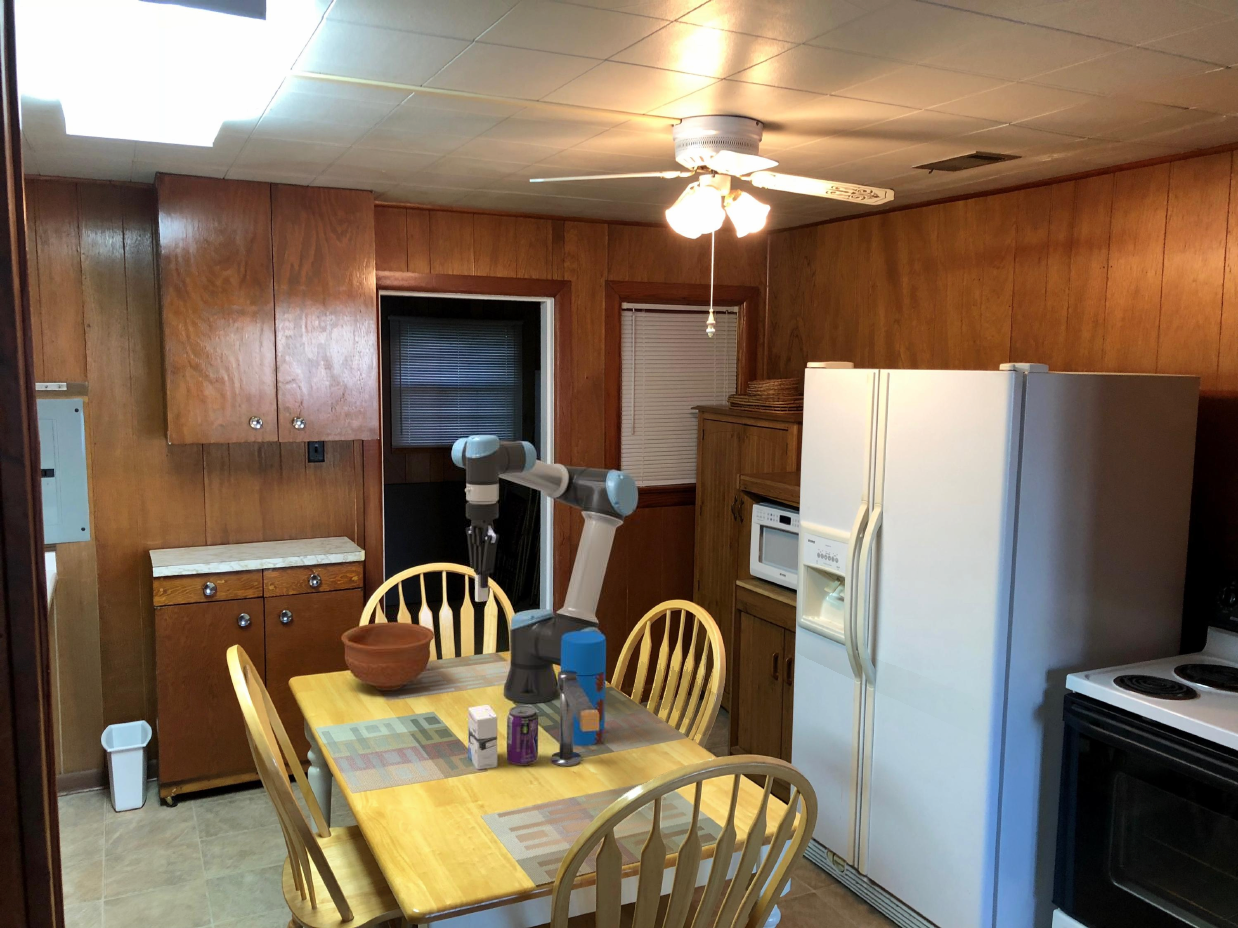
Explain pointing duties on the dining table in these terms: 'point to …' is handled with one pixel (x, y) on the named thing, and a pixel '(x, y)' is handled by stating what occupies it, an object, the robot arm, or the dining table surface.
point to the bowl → (387, 653)
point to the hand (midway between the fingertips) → (481, 600)
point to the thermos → (587, 676)
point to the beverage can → (522, 735)
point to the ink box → (482, 736)
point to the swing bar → (578, 700)
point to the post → (566, 737)
